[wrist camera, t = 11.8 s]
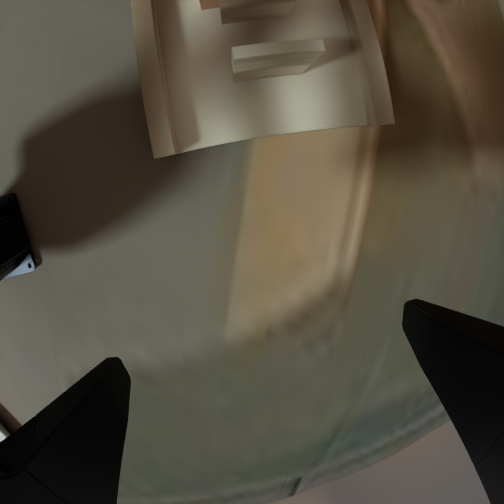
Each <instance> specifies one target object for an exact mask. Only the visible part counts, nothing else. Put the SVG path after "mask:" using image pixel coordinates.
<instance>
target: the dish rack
mask: <svg viewBox="0 0 504 504" xmlns="http://www.w3.org/2000/svg"><path fill="white" fill-rule="evenodd" d="M219 5H220V7H218V8H213V9H207V10H201V6H200V2H199V0H131V11H132V21H133V31H134V40H135V48H136V56H137V64H138V71H139V78H140V84H141V91H142V97H143V103H144V109H145V114H146V120H147V125H148V131H149V136H150V141H151V146H152V151H153V156H154V159H157V158H162V157H167V156H171V155H175V154H179V153H184V152H188V151H192V150H197V149H201V148H206V147H211V146H216V145H221V144H226V143H231V142H236V141H242V140H248V139H253V138H260V137H266V136H272V135H279V134H287V133H294V132H302V131H311V130H320V129H330V128H342V127H355V126H372V125H386V124H395V120H394V113H393V107H392V101H391V95H390V90H389V85H388V80H387V75H386V70H385V65H384V61H383V57H382V53H381V49H380V45H379V41H378V37H377V34H376V30H375V26H374V23H373V20H372V16H371V13H370V10H369V7H368V4H367V1H366V0H219Z"/></svg>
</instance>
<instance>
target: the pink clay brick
mask: <svg viewBox="0 0 504 504" xmlns="http://www.w3.org/2000/svg"><path fill="white" fill-rule="evenodd" d="M199 2H200V6H201V10H207V9H213V8H218V7H220V5H219V0H199Z"/></svg>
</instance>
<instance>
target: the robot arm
mask: <svg viewBox="0 0 504 504" xmlns="http://www.w3.org/2000/svg"><path fill="white" fill-rule="evenodd" d="M11 199H12V201H11ZM30 263H31V264H32V266H31V264H30ZM36 267H37V264H36V260H35V258H34V255H33V252H32V249H31V246H30V243H29V240H28V237H27V234H26V230H25V227H24V224H23V220H22V216H21V213H20V209H19V205H18V201H17V197H16V195H15V194H14V193H10V194H7V195H5V196H3V197H1V198H0V281H1V280H2V279H4V278H7V277H11V276H15V275H19V274H23V273H27V272H31V271H33V270H35V269H36ZM402 327H403V330H404V333H405V335H406V337H407V339H408V341H409V343H410V345H411V347H412V349H413V351H414V354H415V356H416V358H417V360H418V362H419V364H420V366H421V368H422V370H423V372H424V373H425V375H426V377H427V378H428V380H429V382H430V383H431V385H432V387H433V388H434V390H435V392H436V394H437V395H438V397H439V399H440V401H441V403H442V404H443V406H444V408H445V410H446V412H447V413H448V415H449V417H450V419H451V421H452V423H453V424H454V426H455V428H456V430H457V432H458V434H459V436H460V438H461V440H462V442H463V444H464V446H465V448H466V450H467V452H468V454H469V456H470V458H471V460H472V462H473V464H474V466H475V469H476V471H477V473H478V475H479V478H480V480H481V482H482V484H483V487H484V489H485V491H486V494H487V496H488V498H489V501H490V503H491V504H504V326H500V325H497V324H494V323H491V322H488V321H485V320H482V319H479V318H476V317H473V316H470V315H466V314H463V313H460V312H457V311H454V310H451V309H448V308H445V307H442V306H438V305H435V304H432V303H429V302H426V301H423V300H420V299H413V300H409V301H407V302H405V304H404V310H403V320H402ZM130 387H131V379H130V376H129V374H128V372H127V370H126V368H125V366H124V365H123V363H122V361H121V359H120V358H118V357H109V358H106V359H105V360H104V361H102V362H101V363H100V364H99V365H97V366H96V367H95V368H94V369H92V370H91V371H90V372H89V373H87V374H86V375H85V376H84V377H82V378H81V379H80V380H79V381H77V382H76V383H75V384H74V385H72V386H71V387H70V388H69V389H67V390H66V391H65V392H64V393H63V394H61V395H60V396H59V397H58V398H56V399H55V400H54V401H53V402H51V403H50V404H49V405H48V406H46V407H45V408H44V409H43V410H42V411H40V412H39V413H38V414H37V415H36V417H35V416H34V417H33V418H32V419H30V420H29V421H28V422H27V423H25V424H24V425H23V426H22V427H20V428H19V429H18V430H16V431H15V432H14V433H12V434H11V435H9V436H8V437H7V438H5V439H4V440H2V441H1V442H0V504H117V495H118V486H119V477H120V470H121V462H122V455H123V449H124V442H125V436H126V430H127V423H128V413H129V399H130Z"/></svg>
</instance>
